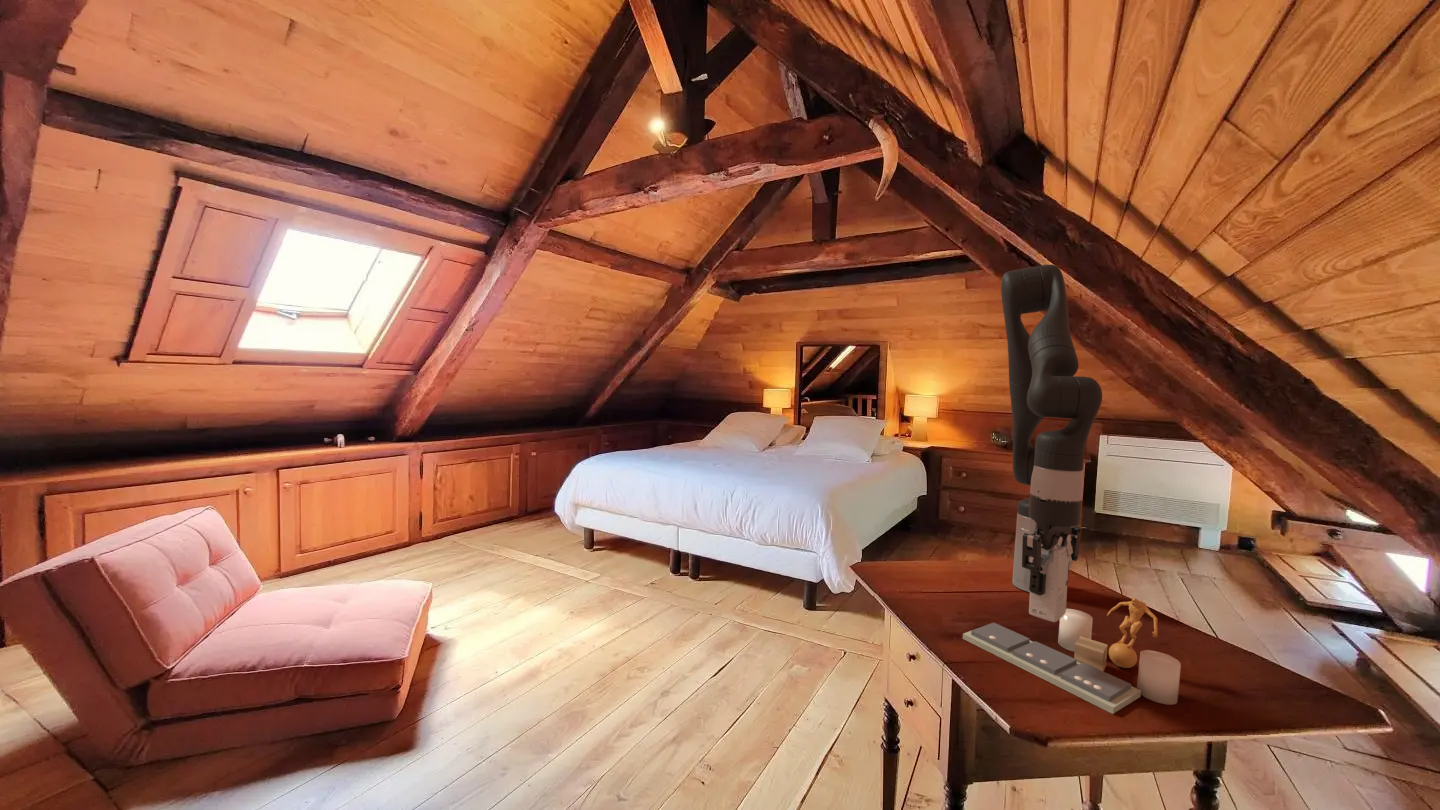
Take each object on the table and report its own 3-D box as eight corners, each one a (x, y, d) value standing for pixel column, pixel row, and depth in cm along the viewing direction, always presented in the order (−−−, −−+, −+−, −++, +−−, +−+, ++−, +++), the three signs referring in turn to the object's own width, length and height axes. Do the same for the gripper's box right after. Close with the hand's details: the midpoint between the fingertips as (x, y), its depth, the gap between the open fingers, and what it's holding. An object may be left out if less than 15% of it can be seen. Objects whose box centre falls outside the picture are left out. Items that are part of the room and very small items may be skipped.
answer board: (991, 628, 107) (992, 619, 106) (1140, 696, 85) (1141, 685, 85) (962, 638, 102) (963, 629, 102) (1112, 714, 81) (1113, 702, 80)
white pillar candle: (1145, 682, 89) (1148, 647, 89) (1183, 698, 85) (1186, 662, 84) (1131, 691, 87) (1134, 654, 86) (1169, 708, 82) (1172, 670, 82)
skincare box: (1056, 623, 89) (1062, 552, 88) (1026, 614, 92) (1031, 545, 92) (1066, 612, 93) (1072, 544, 93) (1037, 604, 97) (1042, 537, 96)
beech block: (1078, 657, 97) (1080, 636, 96) (1105, 667, 94) (1107, 644, 93) (1073, 666, 94) (1075, 644, 93) (1101, 676, 91) (1103, 653, 91)
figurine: (1090, 655, 97) (1095, 590, 96) (1115, 651, 99) (1120, 587, 98) (1138, 681, 89) (1144, 611, 88) (1164, 676, 91) (1170, 607, 90)
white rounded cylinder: (1066, 636, 104) (1069, 606, 103) (1095, 648, 100) (1098, 617, 99) (1052, 643, 101) (1055, 612, 101) (1081, 655, 97) (1084, 623, 97)
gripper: (1055, 485, 98) (1048, 574, 100) (1009, 493, 91) (1002, 589, 92) (1101, 494, 92) (1093, 590, 93) (1055, 503, 85) (1047, 606, 86)
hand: (1048, 589), depth 93 cm, fingers closed on skincare box, 6 cm apart
